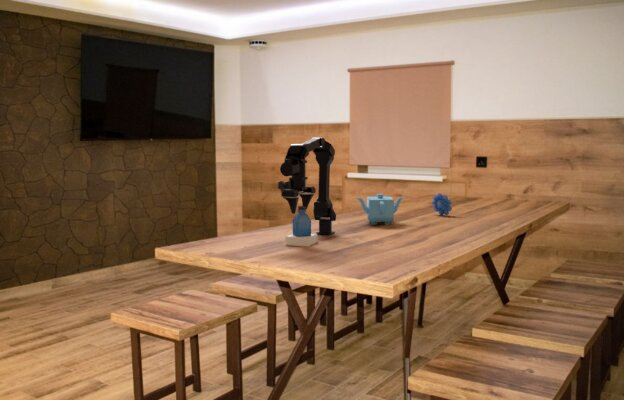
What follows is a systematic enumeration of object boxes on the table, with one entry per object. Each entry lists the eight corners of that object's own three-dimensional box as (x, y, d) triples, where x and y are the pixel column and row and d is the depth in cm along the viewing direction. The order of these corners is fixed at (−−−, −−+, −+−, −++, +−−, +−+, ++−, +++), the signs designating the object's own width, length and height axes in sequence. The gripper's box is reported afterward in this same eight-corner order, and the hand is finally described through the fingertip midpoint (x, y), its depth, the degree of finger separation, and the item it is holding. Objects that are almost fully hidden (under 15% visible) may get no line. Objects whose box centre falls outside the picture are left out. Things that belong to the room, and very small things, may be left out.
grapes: (428, 215, 324) (428, 193, 323) (433, 213, 329) (434, 192, 328) (448, 217, 317) (448, 194, 315) (453, 215, 322) (453, 193, 321)
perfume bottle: (296, 236, 244) (296, 207, 243) (292, 234, 250) (292, 205, 248) (311, 236, 246) (311, 207, 244) (306, 233, 252) (306, 205, 250)
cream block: (295, 241, 255) (295, 232, 254) (317, 243, 251) (317, 233, 251) (285, 246, 246) (285, 236, 245) (308, 247, 242) (308, 237, 241)
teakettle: (382, 227, 287) (383, 196, 285) (353, 223, 300) (353, 194, 298) (406, 222, 300) (407, 193, 298) (377, 219, 313) (377, 191, 311)
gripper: (293, 172, 257) (293, 208, 259) (269, 175, 241) (270, 214, 243) (315, 173, 252) (316, 210, 254) (293, 176, 236) (294, 215, 237)
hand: (299, 212), depth 247 cm, fingers open, 9 cm apart
